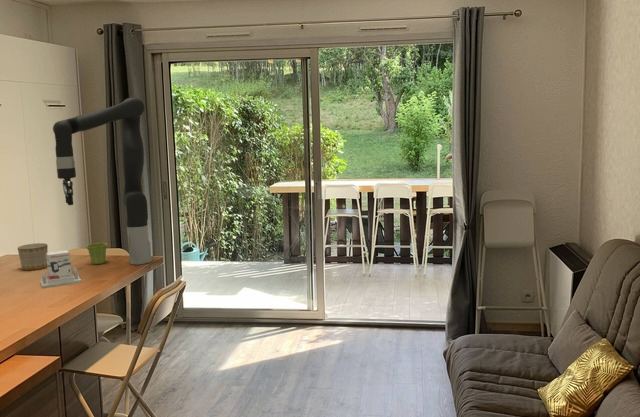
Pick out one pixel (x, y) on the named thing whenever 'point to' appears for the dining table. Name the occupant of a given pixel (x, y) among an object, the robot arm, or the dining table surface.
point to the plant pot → (97, 252)
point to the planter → (33, 256)
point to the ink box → (58, 264)
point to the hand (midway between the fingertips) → (69, 204)
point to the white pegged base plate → (60, 280)
